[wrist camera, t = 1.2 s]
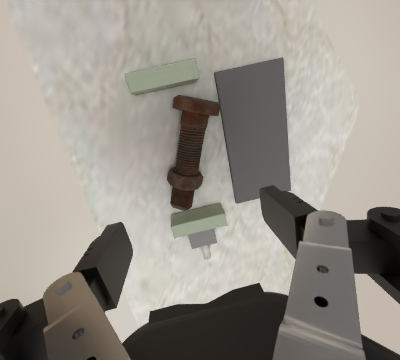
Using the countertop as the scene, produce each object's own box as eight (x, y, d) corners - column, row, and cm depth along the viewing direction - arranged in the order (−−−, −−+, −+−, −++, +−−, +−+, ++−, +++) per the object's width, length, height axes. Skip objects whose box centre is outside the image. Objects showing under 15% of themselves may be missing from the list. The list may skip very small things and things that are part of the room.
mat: (214, 73, 26) (215, 72, 26) (281, 58, 27) (283, 57, 26) (235, 201, 33) (236, 203, 32) (288, 189, 33) (290, 190, 33)
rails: (130, 78, 25) (124, 73, 22) (193, 64, 26) (195, 58, 22) (183, 254, 35) (184, 269, 32) (228, 243, 35) (233, 256, 32)
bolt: (175, 194, 34) (189, 97, 28) (203, 204, 32) (224, 103, 27) (155, 208, 28) (167, 92, 23) (187, 220, 27) (208, 99, 22)
